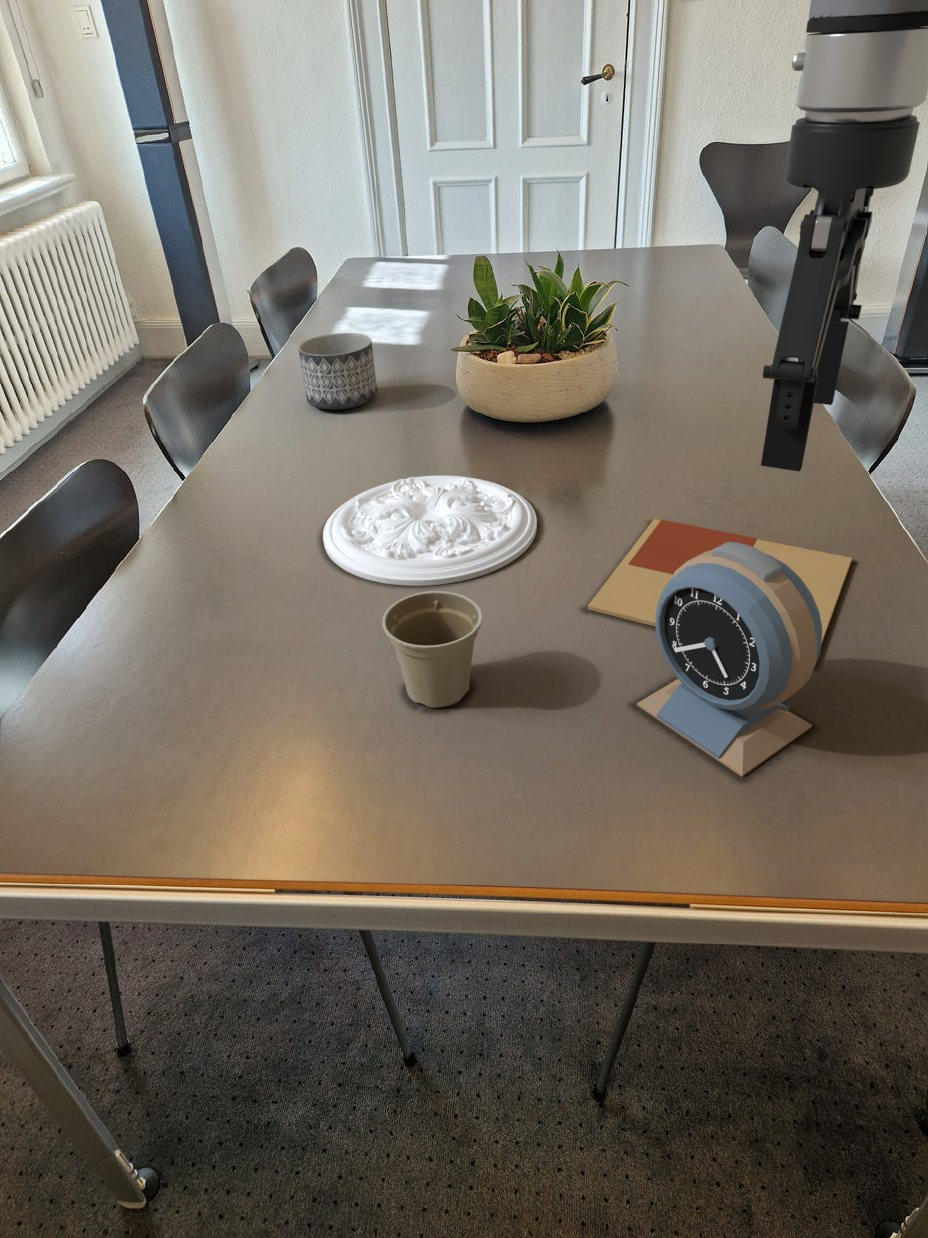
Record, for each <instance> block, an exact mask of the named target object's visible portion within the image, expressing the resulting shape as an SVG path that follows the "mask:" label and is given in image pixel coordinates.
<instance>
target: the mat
mask: <svg viewBox="0 0 928 1238" xmlns="http://www.w3.org/2000/svg"><path fill="white" fill-rule="evenodd" d="M726 542H736V543H741V544H746V545H748V546H751V547H754V548H756V549H758V550H760V551H762V552H764V553H765V554H768V555H771V556H773V557H774V558H776V559H778V560H779V561H781V562H783V563H784V564H786V565H787V566H788V567H789V568H791V569H792V570H793V571H794V572H795V573H796V574H797V575H798V576H799V577H800V578H801V579H802V581H803V582H804V584H805V585H806V586H807V588H808V589H809V591H810V592H811V594H812V596H813V598H814V600H815V603H816V605H817V607H818V610H819V613H820V618H821V624H822V641H821V646H822V644H823V642H824V639H825V636H826V633H827V630H828V628H829V625H830V622H831V620H832V617H833V614H834V612H835V609H836V606H837V604H838V600H839V598H840V595H841V592H842V590H843V587H844V584H845V581H846V578H847V577H848V573H849V570H850V568H851V564H852V561H853V557H849V556H846V555H845V556H844V555H839V554H835V553H829V552H825V551H820V550H814V549H808V548H803V547H800V546H799V547H798V546H794V545H788V544H783V543H780V542H779V543H778V542H773V541H768V540H765V539H764V540H763V539H758V538H757V537H754V536H753V537H751V536H748V535H747V536H746V535H742V534H738V533H732V532H728V531H722V530H717V529H712V528H708V527H707V528H706V527H703V526H702V527H701V526H697V525H691V524H687V523H681V522H676V521H670V520H666V519H658V518H657V519H656V518H653V520H652V521H651V522H650V524H648V526H647V527H646V529H645V530H644V531H643V533H642V534H641V536H639V538H638V539H637V540H636V542H635V543H634V544H633V545H632V547H631V549H630V550H629V551H628V553H627V554H626V555H625V556H624V557H623V559H622V560H621V562H620V563H619V564H618V565H617V567H616V568H615V570H614V571H613V572H612V574H611V575H610V576H609V577H608V579H607V580H606V581H605V582H604V584H603V585H602V586H601V588H600V589H599V591H598V592H597V593H596V594H595V595H594V597H593V598H592V599H591V601H590V602H589V603H588V604H587V610H588V611H592V612H595V613H600V614H603V615H608V616H611V617H615V618H620V619H623V620H628V621H631V622H636V623H638V624H639V623H640V624H643V625H646V626H647V625H648V626H651V627H655V628H656V617H655V615H656V610H657V606H658V601H659V598H660V595H661V593H662V591H663V589H664V588H665V586H666V584H667V583H668V581H669V580H670V579H671V577H672V576H673V574H674V572H675V571H676V570H677V569H678V568H679V567H681V566H682V565H683V564H684V563H686V562H687V561H689V560H691V559H693V558H694V557H696V556H698V555H700V554H702V553H704V552H707V551H710V550H713V549H715V548H717V547H719V546H721V545H723V544H724V543H726Z"/></svg>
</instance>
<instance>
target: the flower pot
mask: <svg viewBox="0 0 928 1238" xmlns="http://www.w3.org/2000/svg"><path fill="white" fill-rule="evenodd" d="M482 623H483V611H482V609H481V607H480V606H479V605H478V604H477V602H475V601H474V600H473V599H471V598H470V597H467V596H465V595H463V594H460V593H458V592H453V591H452V592H451V591H447V590H427V591H421V592H417V593H413V594H410V595H408V596H405V597H403V598H401V599H398V600H397V601H395V602H394V603H392V604H391V605H390V606H389V607H388V608H387V609H386V610H385V611H384V613H383V616H382V620H381V624H382V629H383V631H384V633H385V636H387V637H388V639H389V641H390V644H391V645H392V646H393V647H394V651H395V653H396V658H397V661H398V664H399V667H400V671H401V675H402V678H403V682H404V685H405V689H406V693H407V695H408V697H409V698H410V699H411V701H413V702H414V703H415V704H421V705H424V706H426V707H427V708H434V709H435V708H444V707H448V706H453V705H454V704H456V703H458V702H460V701H461V700H462V699H463V697H464V696H465V695H466V694H467V693H468V692H469V689H470V680H471V671H472V664H473V663H472V662H473V654H474V645H475V640H476V638H477V636H478V632H479V630H480V629H481V626H482Z"/></svg>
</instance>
